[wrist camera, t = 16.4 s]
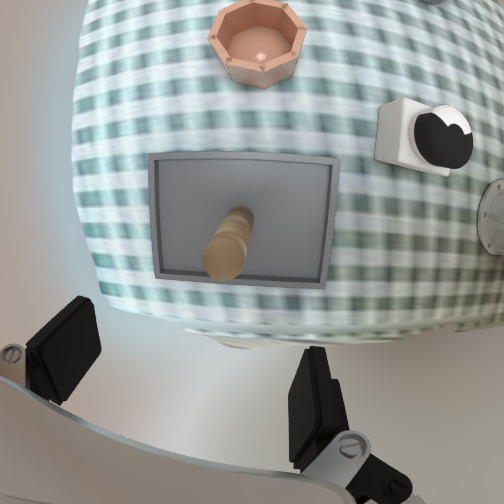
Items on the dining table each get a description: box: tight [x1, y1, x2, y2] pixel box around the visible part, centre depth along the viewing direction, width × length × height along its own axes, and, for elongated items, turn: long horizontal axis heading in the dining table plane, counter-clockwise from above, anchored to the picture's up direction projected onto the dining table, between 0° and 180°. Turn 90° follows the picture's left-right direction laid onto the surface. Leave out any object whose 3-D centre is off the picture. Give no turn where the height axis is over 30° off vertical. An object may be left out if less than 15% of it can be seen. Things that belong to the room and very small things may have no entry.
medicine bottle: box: [375, 98, 473, 176], centre depth 23 cm, size 7×7×12 cm
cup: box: [207, 0, 307, 89], centre depth 23 cm, size 9×9×7 cm
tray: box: [148, 151, 340, 289], centre depth 33 cm, size 22×16×2 cm
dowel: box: [201, 206, 254, 281], centre depth 27 cm, size 3×3×14 cm
